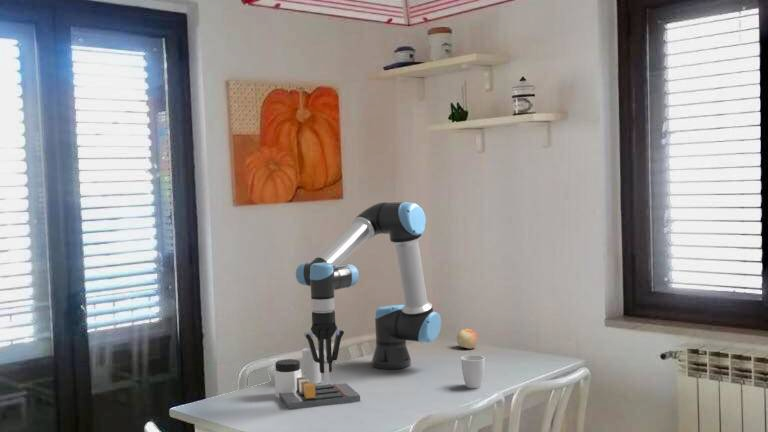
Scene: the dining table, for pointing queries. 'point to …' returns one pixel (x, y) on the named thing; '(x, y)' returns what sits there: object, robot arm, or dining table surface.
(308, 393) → the handle
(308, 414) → the dining table surface
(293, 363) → the jar
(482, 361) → the cup
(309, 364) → the mug
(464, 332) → the apple
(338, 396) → the panel
